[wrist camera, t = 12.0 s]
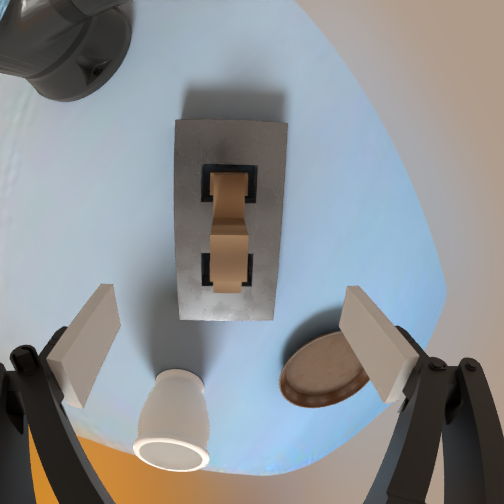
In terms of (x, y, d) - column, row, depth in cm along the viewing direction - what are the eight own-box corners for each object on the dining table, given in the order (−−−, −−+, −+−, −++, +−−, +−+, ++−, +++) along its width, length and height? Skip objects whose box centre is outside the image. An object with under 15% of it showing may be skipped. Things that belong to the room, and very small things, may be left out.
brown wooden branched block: (212, 170, 33) (204, 180, 21) (245, 171, 33) (257, 181, 21) (211, 267, 37) (205, 323, 25) (242, 268, 37) (250, 323, 25)
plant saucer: (386, 358, 47) (393, 368, 44) (310, 409, 49) (313, 420, 46) (346, 300, 41) (354, 310, 38) (254, 364, 44) (256, 377, 41)
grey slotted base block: (180, 123, 31) (175, 119, 27) (281, 126, 32) (287, 123, 28) (183, 305, 39) (179, 319, 35) (269, 306, 40) (273, 320, 36)
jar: (191, 355, 42) (182, 433, 28) (220, 395, 45) (222, 467, 31) (137, 372, 42) (117, 442, 28) (170, 408, 46) (161, 475, 32)
